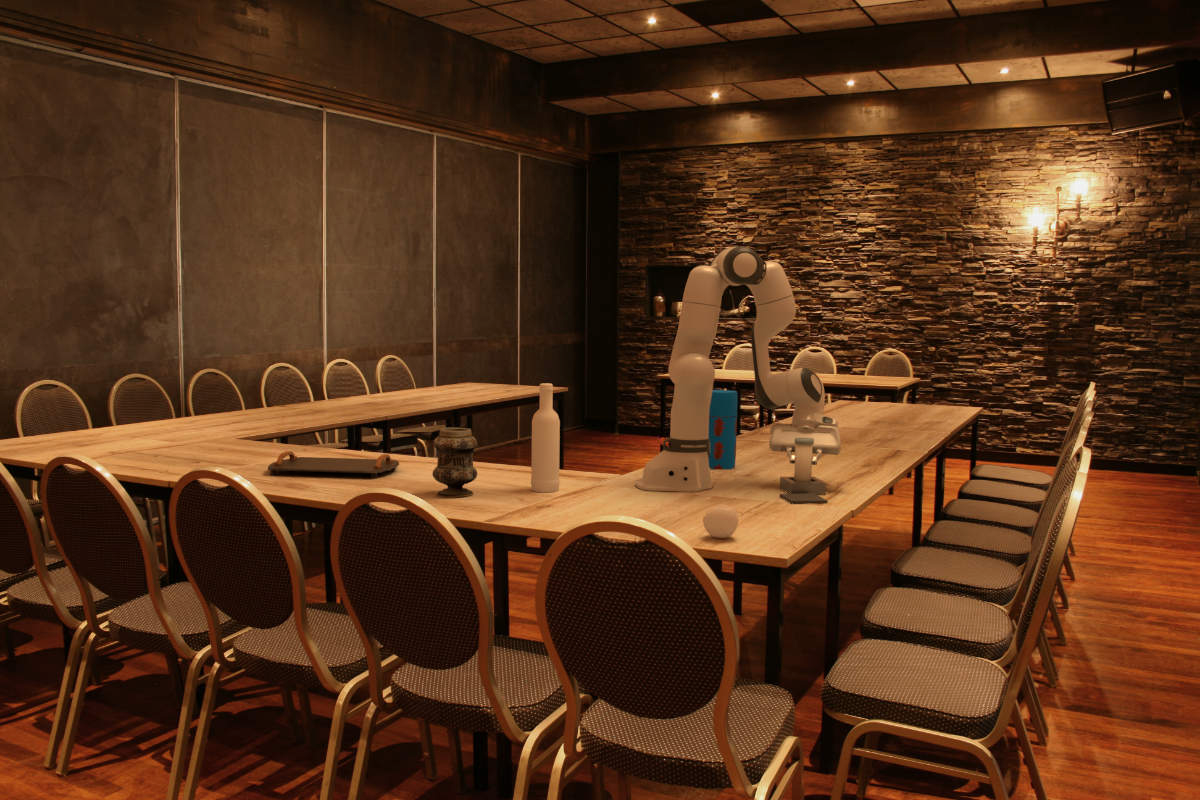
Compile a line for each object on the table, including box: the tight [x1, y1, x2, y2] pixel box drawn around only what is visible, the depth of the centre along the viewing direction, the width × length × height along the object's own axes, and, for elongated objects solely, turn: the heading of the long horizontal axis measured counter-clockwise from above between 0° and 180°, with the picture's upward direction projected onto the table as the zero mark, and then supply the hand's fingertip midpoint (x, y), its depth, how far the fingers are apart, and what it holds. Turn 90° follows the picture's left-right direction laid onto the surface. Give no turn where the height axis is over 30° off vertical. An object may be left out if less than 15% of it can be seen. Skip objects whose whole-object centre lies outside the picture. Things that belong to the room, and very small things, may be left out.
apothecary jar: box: [432, 427, 478, 498], centre depth 264 cm, size 12×12×18 cm
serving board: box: [267, 450, 400, 480], centre depth 299 cm, size 39×23×6 cm, turn 84°
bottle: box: [530, 382, 561, 494], centre depth 272 cm, size 8×8×30 cm
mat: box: [779, 493, 828, 505], centre depth 265 cm, size 10×10×1 cm
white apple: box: [702, 504, 739, 539], centre depth 219 cm, size 8×8×8 cm
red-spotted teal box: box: [708, 389, 738, 470], centre depth 318 cm, size 11×11×25 cm
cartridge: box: [793, 438, 814, 482], centre depth 277 cm, size 5×5×15 cm
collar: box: [779, 476, 827, 496], centre depth 277 cm, size 10×10×4 cm
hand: (803, 463), depth 276 cm, fingers closed on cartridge, 5 cm apart
